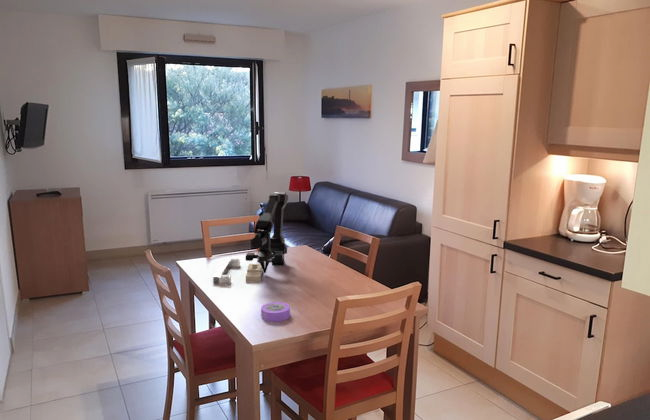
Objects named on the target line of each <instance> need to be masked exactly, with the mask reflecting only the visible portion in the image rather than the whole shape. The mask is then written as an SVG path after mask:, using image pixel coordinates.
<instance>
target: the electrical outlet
mask: <svg viewBox="0 0 650 420" xmlns="http://www.w3.org/2000/svg"><path fill="white" fill-rule="evenodd" d="M262 276H263V269H262V266H261V264H260V263H249V264H248V266H247V270H246V274H245V282H247V283H249V282H250V283H252V282H253V283H254V282H255V283H259V282H261V280H262Z"/></svg>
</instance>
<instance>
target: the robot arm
mask: <svg viewBox="0 0 650 420" xmlns="http://www.w3.org/2000/svg"><path fill="white" fill-rule="evenodd" d="M288 201H289V195H288V194H287V193H286V192H279V191H278V192H277V191H274V192H273V193H270V194H269V196H268V201H267V204H266V206H265V209H264V212H263V214H262V215H260V216H259V217H258V219H257V221H256V222H255V226H254V231H253V234H255V235H254V237H252V239H251V242H250V243H251V245H252V247H253V248H254V249H258V252H257V253H258V254H256V253H255V252H247V253H246V254H245V261H247V262H248V261H249V262H252V261H254V259H257V261H256V263H258V264H261V266H262V269H263V271H262V273H264V274H266V273H267V269H268V266H269V264H270V263H271V264H272V266H273V265H274V266H279V265H280V266H284V265H285V263H286V261H285V255H286V254H288V247H287V245H286V242H285V241H286V240H285V238H284V236H283V230H284V229H283V227H284V225H283V224H284V211H285V210H284V209H285V207H286V206H287V204H288ZM273 216H274V218H273ZM273 219H274V220H273ZM272 231H273V235H272V237H271V234H272Z"/></svg>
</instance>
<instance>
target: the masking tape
mask: <svg viewBox="0 0 650 420" xmlns="http://www.w3.org/2000/svg"><path fill="white" fill-rule="evenodd" d="M260 315H261V319H262V320H263V321H264V320H265V321H268V322H275V323H276V322H283V321H286V320H287V319H289V318H290V316H291V307H290V305H289V304H288V303H287V302H279V301H278V302H277V301H276V302H275V301H273V302H268V303H265V304H263V305H261V308H260Z"/></svg>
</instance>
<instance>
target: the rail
mask: <svg viewBox="0 0 650 420" xmlns="http://www.w3.org/2000/svg"><path fill="white" fill-rule="evenodd" d="M240 266H241V259H240V258H230V259H224V260H223V262H221V264H220V265H219V268H218V269H217V270H216V271H215V273H214V275H213V276H212V281H213V284H217V285H220V286H222V285H223V286H224V285H225V286H230V284H231V283H232V275H230V274H227V272H228V270H229V269H230V268H240Z"/></svg>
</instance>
